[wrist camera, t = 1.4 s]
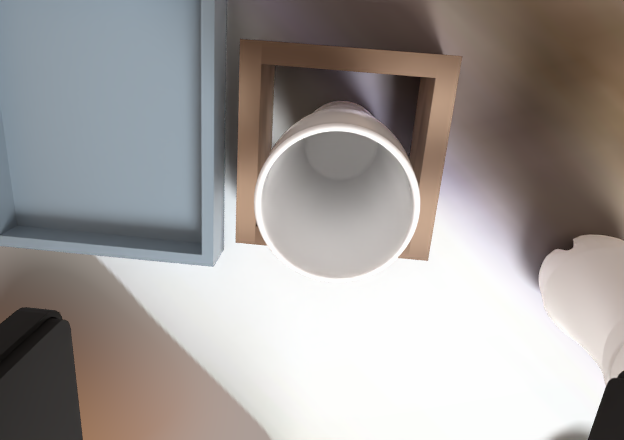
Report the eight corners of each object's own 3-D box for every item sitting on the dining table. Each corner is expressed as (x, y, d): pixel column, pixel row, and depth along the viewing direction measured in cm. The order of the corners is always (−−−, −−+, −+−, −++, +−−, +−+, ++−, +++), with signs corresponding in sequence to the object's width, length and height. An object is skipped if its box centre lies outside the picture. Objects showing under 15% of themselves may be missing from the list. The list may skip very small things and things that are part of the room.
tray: (223, 249, 37) (213, 266, 34) (16, 229, 37) (-11, 245, 35) (226, -15, 31) (214, -21, 28) (-21, -33, 31) (-57, -41, 28)
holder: (416, 229, 35) (427, 260, 30) (251, 213, 36) (235, 242, 30) (443, 54, 31) (462, 56, 26) (257, 40, 32) (240, 39, 26)
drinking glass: (406, 164, 34) (448, 249, 20) (317, 202, 35) (296, 307, 21) (367, 70, 32) (382, 90, 18) (274, 114, 33) (220, 165, 19)
